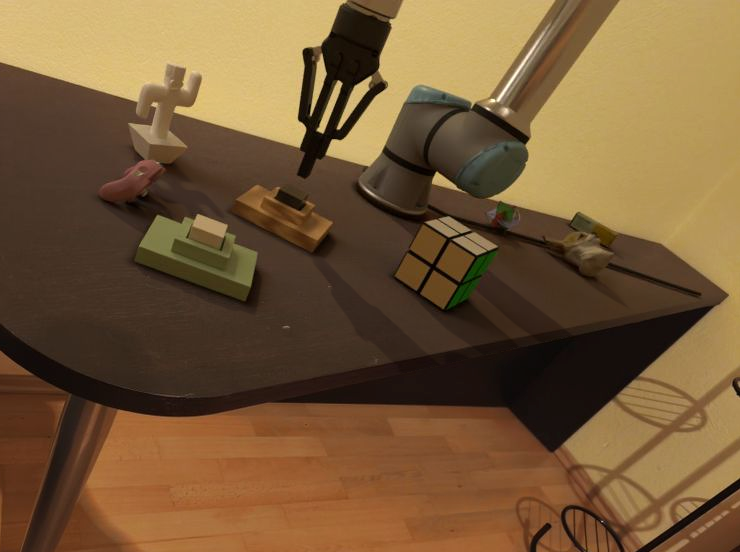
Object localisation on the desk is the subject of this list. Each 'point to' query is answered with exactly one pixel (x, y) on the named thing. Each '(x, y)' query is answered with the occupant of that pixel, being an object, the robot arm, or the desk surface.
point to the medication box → (593, 228)
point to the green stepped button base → (198, 258)
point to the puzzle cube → (445, 262)
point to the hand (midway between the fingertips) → (303, 174)
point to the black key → (292, 196)
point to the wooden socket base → (282, 217)
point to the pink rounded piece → (133, 182)
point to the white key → (208, 232)
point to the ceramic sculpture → (581, 251)
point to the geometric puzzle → (504, 216)
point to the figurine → (163, 114)
